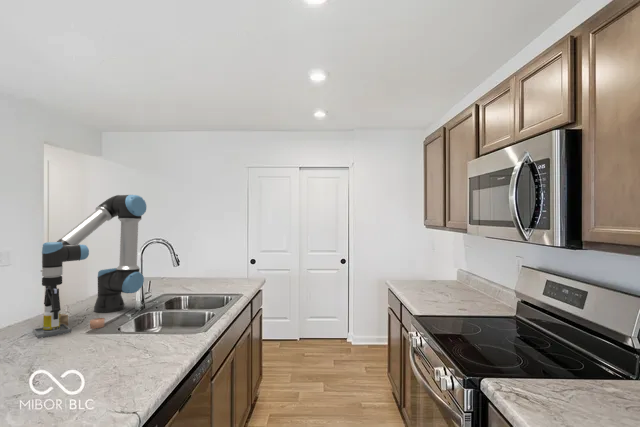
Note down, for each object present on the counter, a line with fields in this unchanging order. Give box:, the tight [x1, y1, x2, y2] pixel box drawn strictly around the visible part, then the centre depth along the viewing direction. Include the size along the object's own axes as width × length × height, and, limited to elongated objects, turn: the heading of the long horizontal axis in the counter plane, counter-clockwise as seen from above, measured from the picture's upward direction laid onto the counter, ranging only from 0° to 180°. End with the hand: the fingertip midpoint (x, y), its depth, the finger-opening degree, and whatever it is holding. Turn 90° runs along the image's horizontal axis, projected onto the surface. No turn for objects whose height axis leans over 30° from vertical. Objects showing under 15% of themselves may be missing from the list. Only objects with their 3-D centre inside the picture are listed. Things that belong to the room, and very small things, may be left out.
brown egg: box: [89, 317, 106, 330], centre depth 178 cm, size 6×6×4 cm
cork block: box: [60, 313, 69, 326], centre depth 180 cm, size 5×5×5 cm
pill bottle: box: [42, 306, 61, 333], centre depth 169 cm, size 6×6×11 cm
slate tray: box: [32, 324, 72, 339], centre depth 169 cm, size 12×12×2 cm
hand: (51, 323), depth 169 cm, fingers open, 12 cm apart
